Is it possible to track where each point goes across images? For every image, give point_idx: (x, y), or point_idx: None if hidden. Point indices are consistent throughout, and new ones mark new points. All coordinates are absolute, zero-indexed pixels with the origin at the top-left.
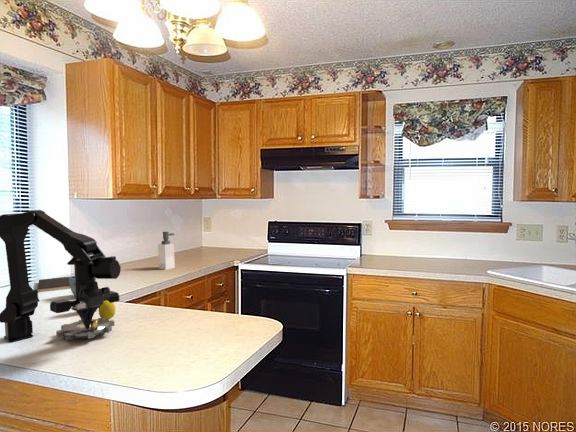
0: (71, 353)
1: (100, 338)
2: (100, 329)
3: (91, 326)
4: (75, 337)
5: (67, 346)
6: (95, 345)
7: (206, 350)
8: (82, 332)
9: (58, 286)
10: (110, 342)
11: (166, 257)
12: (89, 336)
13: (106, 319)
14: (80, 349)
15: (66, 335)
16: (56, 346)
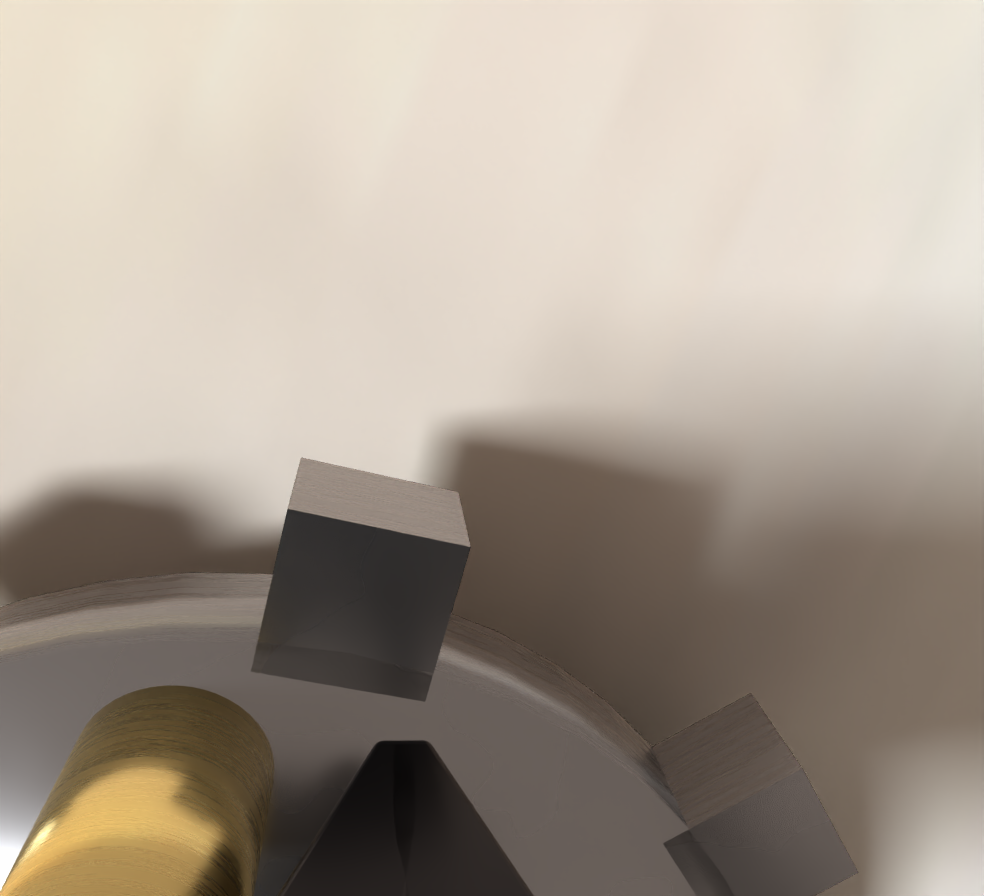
0: (972, 143)
1: (113, 548)
2: (24, 651)
3: (248, 827)
4: (639, 745)
5: (790, 615)
6: (399, 179)
7: None
8: (517, 757)
9: None
10: (25, 50)
11: None
12: (427, 502)
13: None
14: (738, 221)
15: (842, 847)
16: (894, 762)
